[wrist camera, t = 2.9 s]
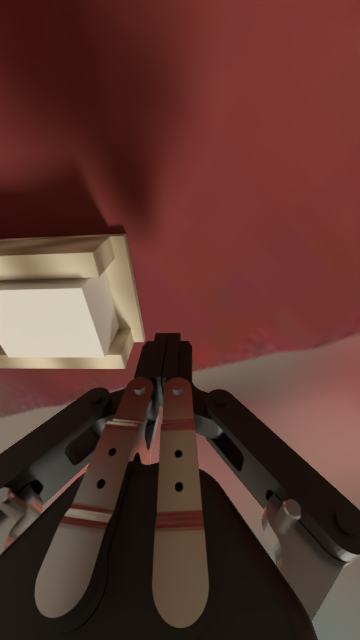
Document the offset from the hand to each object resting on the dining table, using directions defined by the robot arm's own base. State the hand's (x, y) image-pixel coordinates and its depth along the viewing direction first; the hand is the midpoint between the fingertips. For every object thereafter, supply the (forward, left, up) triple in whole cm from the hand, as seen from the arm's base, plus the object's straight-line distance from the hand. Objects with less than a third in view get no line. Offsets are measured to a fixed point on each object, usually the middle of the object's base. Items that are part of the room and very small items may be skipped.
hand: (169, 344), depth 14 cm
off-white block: (+9, 0, -6) cm, 11 cm away
